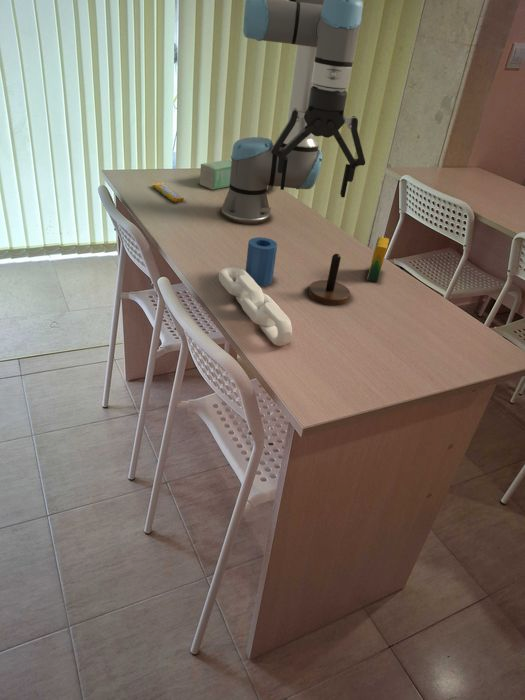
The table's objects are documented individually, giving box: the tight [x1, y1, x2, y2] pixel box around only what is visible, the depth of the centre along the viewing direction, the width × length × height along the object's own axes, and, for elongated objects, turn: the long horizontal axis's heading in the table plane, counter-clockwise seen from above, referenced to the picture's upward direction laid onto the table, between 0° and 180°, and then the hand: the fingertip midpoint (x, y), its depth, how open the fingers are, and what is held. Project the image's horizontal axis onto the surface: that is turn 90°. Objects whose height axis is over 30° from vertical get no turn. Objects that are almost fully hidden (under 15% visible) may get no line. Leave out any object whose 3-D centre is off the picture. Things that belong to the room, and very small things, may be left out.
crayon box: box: [366, 229, 390, 283], centre depth 142 cm, size 7×3×12 cm, turn 164°
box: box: [199, 159, 232, 191], centre depth 192 cm, size 7×14×8 cm, turn 137°
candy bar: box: [151, 181, 185, 203], centre depth 178 cm, size 17×4×2 cm, turn 34°
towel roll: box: [245, 236, 278, 287], centre depth 133 cm, size 7×7×10 cm
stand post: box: [326, 253, 342, 291], centre depth 129 cm, size 2×2×10 cm
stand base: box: [308, 279, 351, 306], centre depth 133 cm, size 10×10×2 cm
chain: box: [218, 266, 293, 347], centre depth 120 cm, size 30×6×6 cm, turn 26°
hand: (312, 191), depth 120 cm, fingers open, 13 cm apart
